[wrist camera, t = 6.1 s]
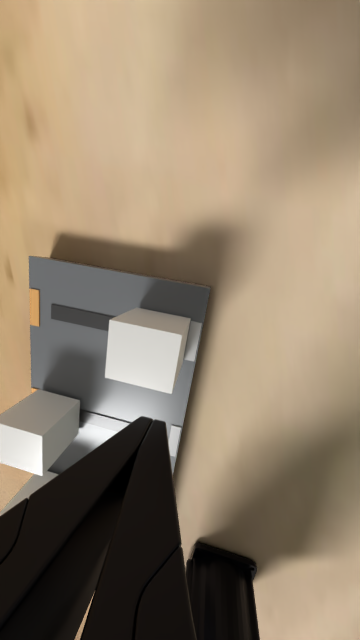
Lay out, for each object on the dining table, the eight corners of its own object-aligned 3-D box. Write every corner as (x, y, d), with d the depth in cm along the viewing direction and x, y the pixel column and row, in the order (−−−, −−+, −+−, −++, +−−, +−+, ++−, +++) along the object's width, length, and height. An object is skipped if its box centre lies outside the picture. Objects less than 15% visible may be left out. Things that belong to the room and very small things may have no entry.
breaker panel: (210, 286, 16) (210, 288, 14) (163, 523, 22) (157, 548, 20) (49, 257, 18) (27, 255, 15) (48, 485, 24) (32, 505, 22)
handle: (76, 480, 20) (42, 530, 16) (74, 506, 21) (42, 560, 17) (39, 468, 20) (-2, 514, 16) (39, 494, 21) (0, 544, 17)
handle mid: (80, 400, 17) (42, 436, 14) (78, 433, 18) (42, 476, 14) (38, 389, 18) (-10, 421, 14) (38, 422, 19) (-7, 460, 15)
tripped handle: (190, 318, 14) (182, 335, 10) (182, 363, 15) (171, 394, 11) (136, 307, 15) (109, 319, 11) (131, 351, 16) (104, 377, 12)
